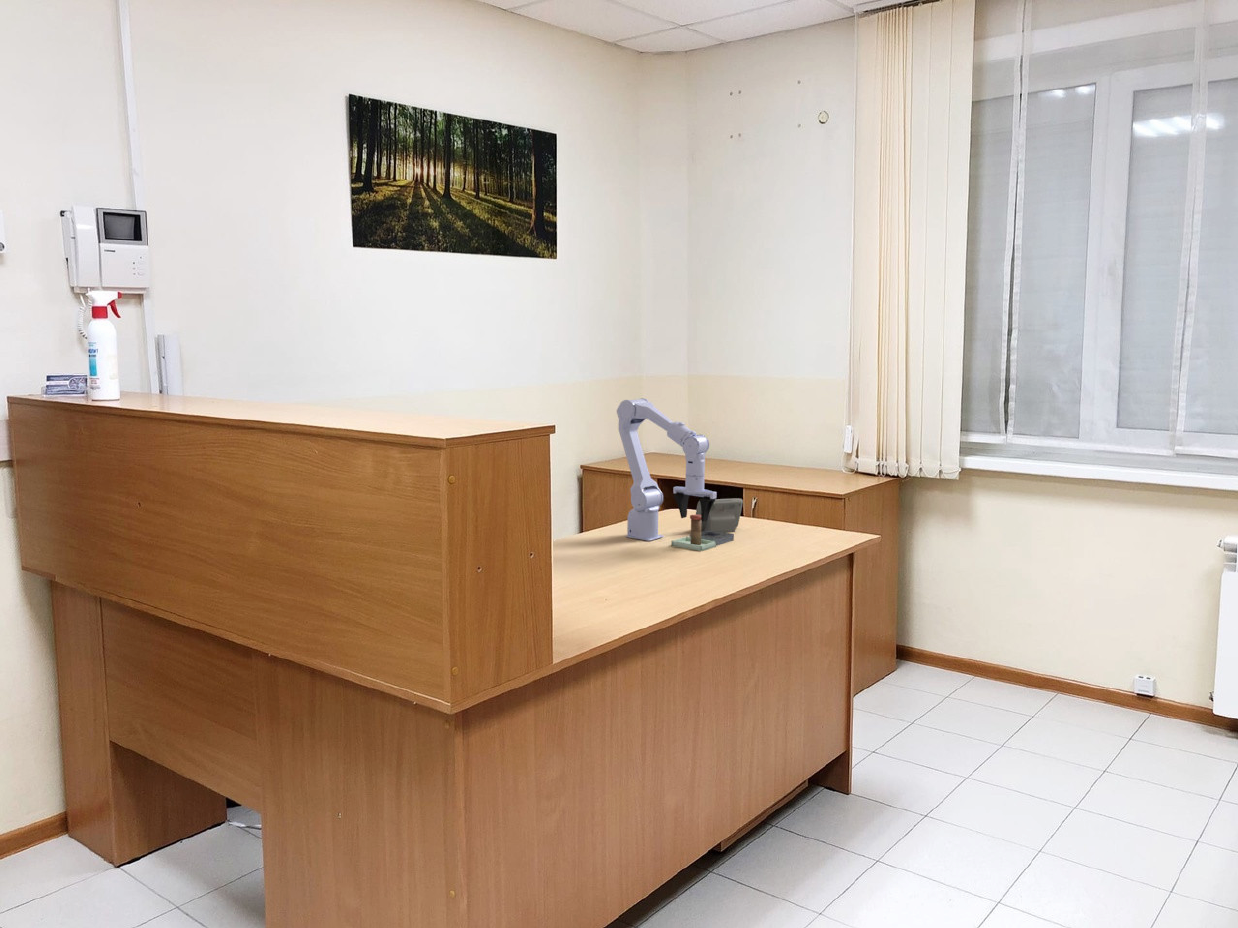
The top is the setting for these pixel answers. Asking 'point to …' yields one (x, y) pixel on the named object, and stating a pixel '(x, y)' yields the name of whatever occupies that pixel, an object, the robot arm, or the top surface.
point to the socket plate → (716, 536)
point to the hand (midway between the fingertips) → (693, 519)
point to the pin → (695, 529)
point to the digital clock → (722, 515)
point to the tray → (686, 543)
